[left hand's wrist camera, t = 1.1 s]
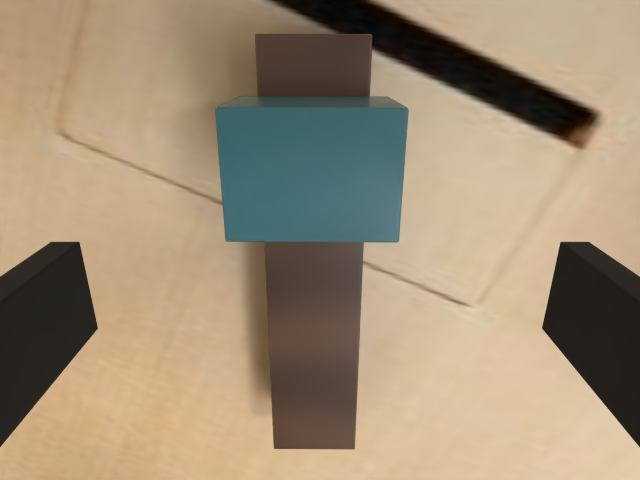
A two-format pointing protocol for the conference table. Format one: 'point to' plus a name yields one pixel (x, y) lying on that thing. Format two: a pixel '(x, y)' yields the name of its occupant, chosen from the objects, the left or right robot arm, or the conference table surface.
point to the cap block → (311, 168)
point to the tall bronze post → (314, 265)
